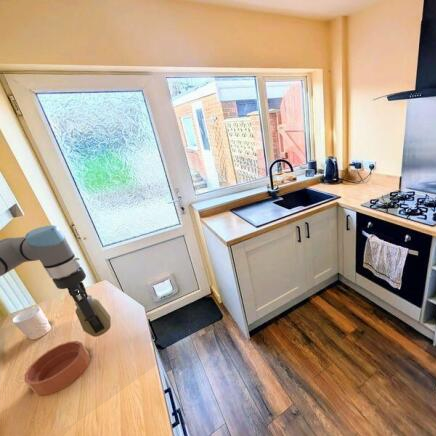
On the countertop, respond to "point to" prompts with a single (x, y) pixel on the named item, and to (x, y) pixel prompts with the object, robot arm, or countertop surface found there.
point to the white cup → (32, 322)
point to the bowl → (57, 368)
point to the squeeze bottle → (100, 313)
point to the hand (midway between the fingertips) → (97, 323)
